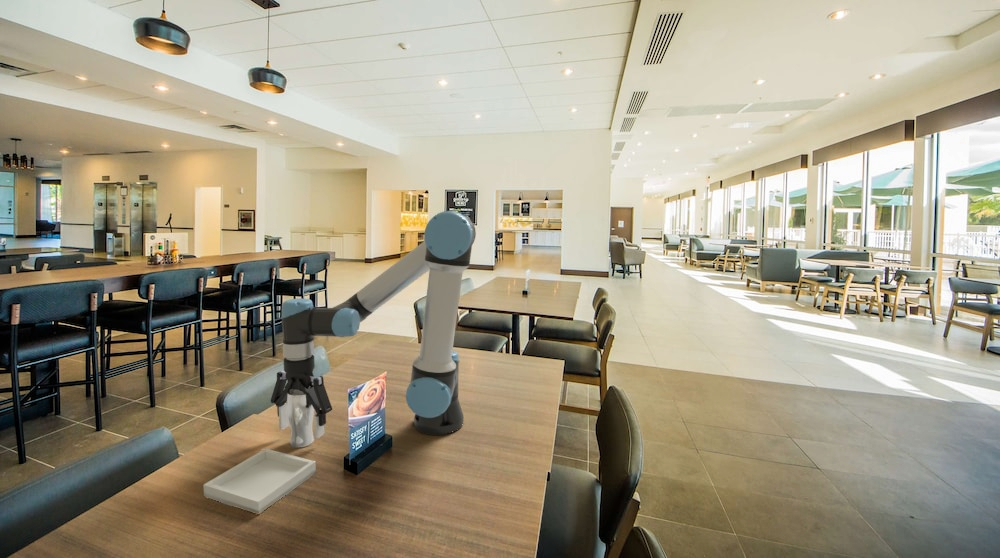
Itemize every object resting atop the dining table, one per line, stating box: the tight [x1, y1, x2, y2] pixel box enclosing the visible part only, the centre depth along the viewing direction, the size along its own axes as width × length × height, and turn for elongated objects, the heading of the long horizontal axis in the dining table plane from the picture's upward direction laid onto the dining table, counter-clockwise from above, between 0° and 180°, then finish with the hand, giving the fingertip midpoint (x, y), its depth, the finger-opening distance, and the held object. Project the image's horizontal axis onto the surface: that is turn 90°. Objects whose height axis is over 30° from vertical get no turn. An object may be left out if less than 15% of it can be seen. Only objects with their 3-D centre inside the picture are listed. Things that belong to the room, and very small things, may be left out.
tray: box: [202, 448, 317, 513], centre depth 96 cm, size 16×16×3 cm
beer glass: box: [286, 387, 315, 449], centre depth 114 cm, size 7×7×15 cm
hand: (301, 431), depth 115 cm, fingers open, 12 cm apart
